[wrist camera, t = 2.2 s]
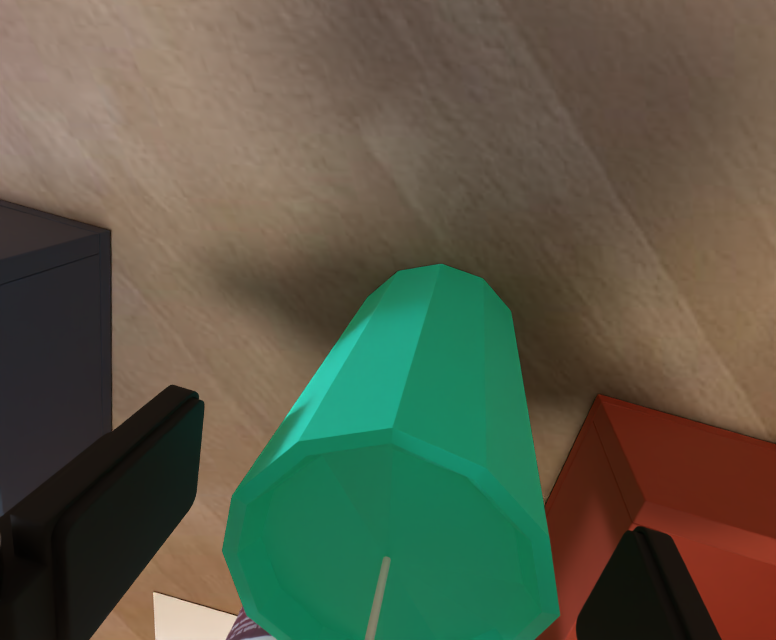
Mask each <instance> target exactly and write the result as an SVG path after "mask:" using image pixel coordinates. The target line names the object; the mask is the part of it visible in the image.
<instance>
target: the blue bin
mask: <svg viewBox="0 0 776 640" xmlns="http://www.w3.org/2000/svg"><path fill="white" fill-rule="evenodd" d="M109 432H111V306H110V231H109V230H106V229H103V228H99V227H95V226H92V225H88V224H85V223H81V222H78V221H74V220H70V219H67V218H63V217H60V216H56V215H53V214H49V213H45V212H42V211H38V210H35V209H31V208H28V207H24V206H20V205H17V204H13V203H10V202H6V201H3V200H0V517H1V516H2V515H4V514H5V513H6V512H7V511H9V510H10V509H11V508H12V507H14V506H15V505H16V504H17V503H19V502H20V501H21V500H22V499H24V498H25V497H26V496H27V495H29V494H30V493H31V492H32V491H34V490H35V489H36V488H38V487H39V486H40V485H41V484H43V483H44V482H45V481H46V480H48V479H49V478H50V477H51V476H53V475H54V474H55V473H56V472H58V471H59V470H60V469H61V468H63V467H64V466H65V465H66V464H68V463H69V462H70V461H71V460H73V459H74V458H75V457H76V456H78V455H79V454H80V453H81V452H83V451H84V450H85V449H86V448H88V447H89V446H90V445H91V444H93V443H94V442H95V441H96V440H98V439H99V438H100V437H102V436H103V435H105V434H106V433H109Z"/></svg>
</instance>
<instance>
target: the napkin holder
mask: <svg viewBox="0 0 776 640" xmlns="http://www.w3.org/2000/svg"><path fill="white" fill-rule="evenodd" d="M153 598H154V619H155V640H226V638H227V635H228V634H229V632H230V630H231V629H232V626H233V624H234V622H235V620H236V618H237V616H234V615H231V614H228V613H224V612H221V611H217V610H214V609H210V608H207V607H204V606H200V605H197V604H193V603H190V602H186V601H183V600H180V599H176V598H173V597H169V596H166V595H163V594H159V593H156V592H153Z"/></svg>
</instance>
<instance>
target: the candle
mask: <svg viewBox="0 0 776 640" xmlns="http://www.w3.org/2000/svg"><path fill="white" fill-rule="evenodd" d="M222 552H223V555H224V558H225V560H226V563H227V565H228V568H229V571H230V573H231V576H232V579H233V581H234V584H235V586H236V589H237V592H238V594H239V597H240V600H241V602H242V605H243V607H244V610H245V613H246V615H247V616H248V617H249V618H250V619H252V620H253V621H254V622H255V623H257V624H258V625H259V626H261V627H262V628H263V629H264V630H266V631H267V632H268V633H269V634H271V635H272V636H273V637H274V638H276V639H277V640H535V639H536V638H537V637H538V636H539V635H540V634H541V633H542V632H543V631H544V630H545V629H547V628H548V627H549V626H550V625H551V624H552V623H553V622H554V621H555V620H556V619H557V618H558V617H559V616H560V610H559V602H558V595H557V588H556V581H555V574H554V567H553V559H552V552H551V545H550V538H549V532H548V526H547V520H546V514H545V508H544V502H543V496H542V491H541V485H540V479H539V473H538V467H537V461H536V455H535V449H534V443H533V437H532V431H531V425H530V420H529V414H528V408H527V402H526V396H525V390H524V384H523V378H522V372H521V366H520V360H519V355H518V349H517V343H516V337H515V331H514V325H513V319H512V313H511V310H510V309H509V308H508V307H507V306H506V304H505V303H504V302H503V301H502V300H501V299H500V297H499V296H498V295H497V294H496V293H495V292H494V290H493V289H492V288H491V287H490V286H489V285H488V283H487V282H486V281H485V280H484V279H483V278H481V277H478V276H475V275H472V274H469V273H467V272H464V271H461V270H458V269H455V268H452V267H450V266H447V265H444V264H435V265H430V266H424V267H418V268H412V269H406V270H400V271H398V272H396V273H395V274H394V275H393V276H392V277H390V278H389V279H388V280H387V281H386V282H385V283H383V284H382V285H381V286H380V287H379V288H377V289H376V290H375V291H374V292H373V293H372V294H370V295H369V296H368V297H367V298H366V300H365V301H364V303H363V304H362V306H361V307H360V309H359V310H358V312H357V313H356V315H355V316H354V317H353V319H352V320H351V322H350V323H349V325H348V326H347V328H346V329H345V331H344V332H343V334H342V335H341V337H340V338H339V339H338V341H337V342H336V344H335V345H334V347H333V348H332V350H331V351H330V353H329V354H328V356H327V357H326V359H325V360H324V361H323V363H322V364H321V366H320V367H319V369H318V370H317V372H316V373H315V375H314V376H313V378H312V379H311V381H310V382H309V383H308V385H307V386H306V388H305V389H304V391H303V392H302V394H301V395H300V397H299V398H298V400H297V401H296V403H295V404H294V406H293V407H292V408H291V410H290V411H289V413H288V414H287V416H286V417H285V419H284V420H283V422H282V423H281V425H280V426H279V428H278V429H277V430H276V432H275V433H274V435H273V436H272V438H271V439H270V441H269V442H268V444H267V445H266V447H265V448H264V450H263V451H262V452H261V454H260V455H259V457H258V458H257V460H256V461H255V463H254V464H253V466H252V467H251V469H250V470H249V472H248V473H247V474H246V476H245V477H244V479H243V480H242V482H241V483H240V485H239V486H238V488H237V489H236V491H235V492H234V494H233V495H232V498H231V504H230V509H229V515H228V520H227V526H226V531H225V537H224V542H223V548H222Z"/></svg>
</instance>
